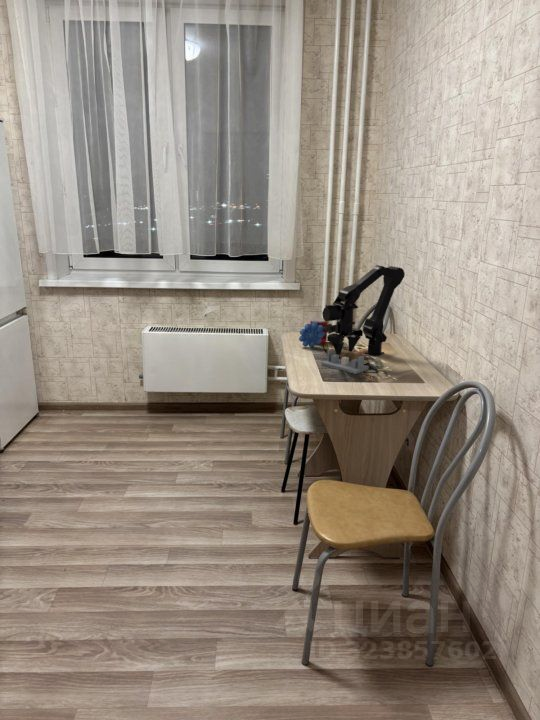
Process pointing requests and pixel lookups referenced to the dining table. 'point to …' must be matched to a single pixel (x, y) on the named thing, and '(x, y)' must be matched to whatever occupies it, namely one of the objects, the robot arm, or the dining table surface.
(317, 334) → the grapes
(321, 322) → the canned food
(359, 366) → the display cradle
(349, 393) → the dining table surface
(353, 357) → the brown rectangular block
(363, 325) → the robot arm
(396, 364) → the dining table surface
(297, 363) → the dining table surface
